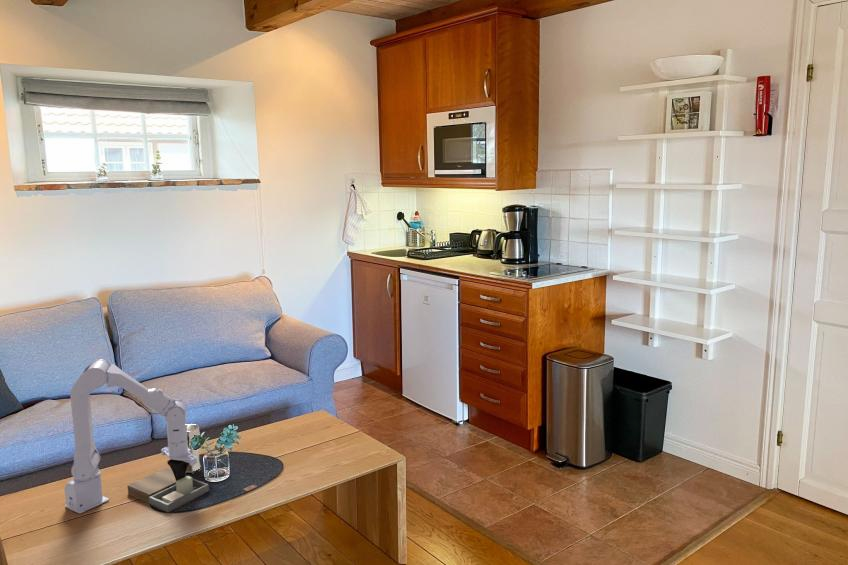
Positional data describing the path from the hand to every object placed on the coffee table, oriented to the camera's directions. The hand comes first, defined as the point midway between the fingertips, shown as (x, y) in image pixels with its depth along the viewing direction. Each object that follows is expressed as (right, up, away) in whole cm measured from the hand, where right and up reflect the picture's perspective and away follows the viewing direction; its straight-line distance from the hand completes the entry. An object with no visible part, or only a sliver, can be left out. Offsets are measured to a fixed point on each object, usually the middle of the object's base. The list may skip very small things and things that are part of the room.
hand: (180, 480), depth 204 cm
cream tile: (+1, -3, -7) cm, 8 cm away
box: (+1, -4, -4) cm, 6 cm away
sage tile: (+1, -1, -1) cm, 2 cm away
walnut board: (-7, -3, +2) cm, 8 cm away
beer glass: (-2, -1, +15) cm, 15 cm away
